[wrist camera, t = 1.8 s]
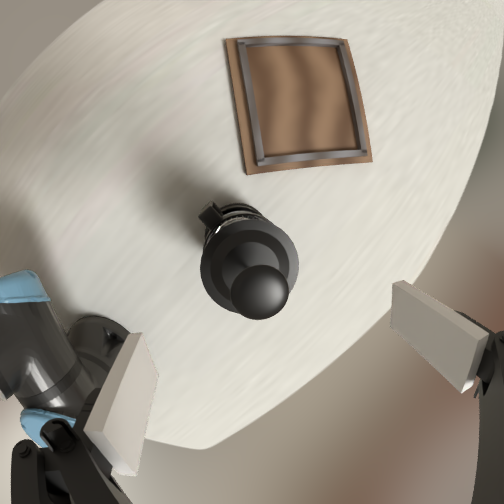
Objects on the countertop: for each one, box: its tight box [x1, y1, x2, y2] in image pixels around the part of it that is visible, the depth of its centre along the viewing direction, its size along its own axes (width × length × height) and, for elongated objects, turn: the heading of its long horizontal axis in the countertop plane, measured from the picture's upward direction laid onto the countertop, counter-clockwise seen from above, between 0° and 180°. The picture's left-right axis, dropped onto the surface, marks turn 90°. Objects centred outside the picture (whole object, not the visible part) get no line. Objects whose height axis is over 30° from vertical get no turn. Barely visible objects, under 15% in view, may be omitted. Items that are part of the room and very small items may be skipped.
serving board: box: [226, 36, 373, 175], centre depth 37 cm, size 20×22×2 cm
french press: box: [198, 201, 299, 320], centre depth 30 cm, size 12×9×23 cm
